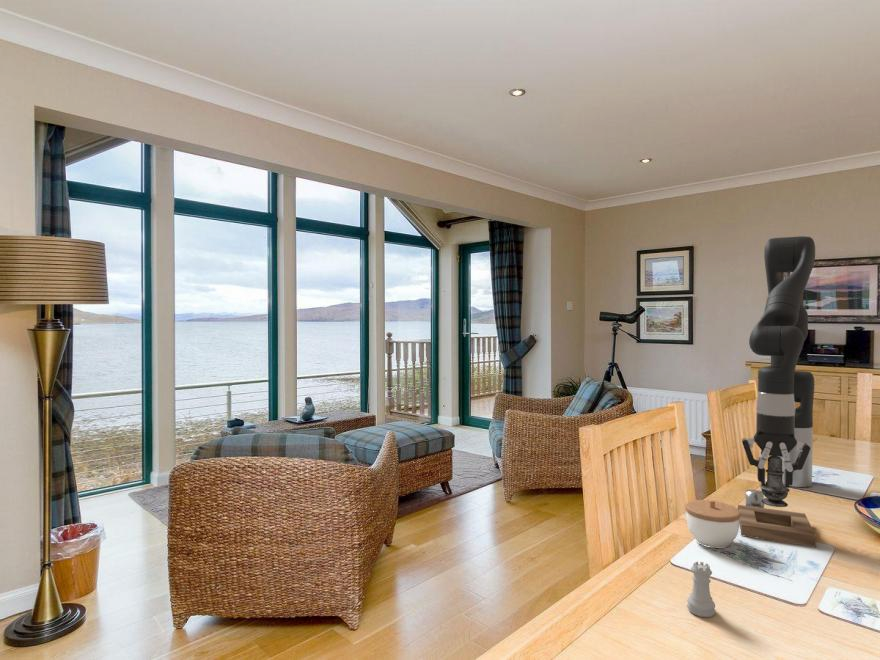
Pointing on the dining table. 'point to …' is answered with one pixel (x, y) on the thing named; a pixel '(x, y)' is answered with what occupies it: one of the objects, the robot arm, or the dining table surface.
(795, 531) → the hole board
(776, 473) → the dark chess piece
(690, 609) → the rook chess piece
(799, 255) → the robot arm
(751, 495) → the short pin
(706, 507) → the lidded jar
